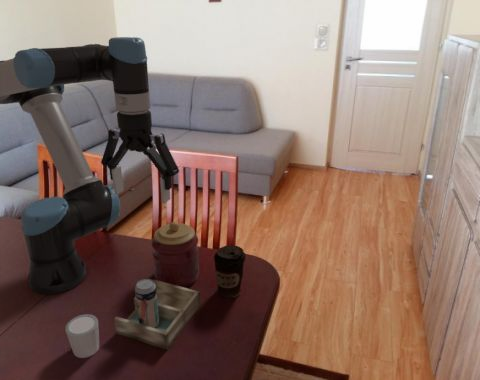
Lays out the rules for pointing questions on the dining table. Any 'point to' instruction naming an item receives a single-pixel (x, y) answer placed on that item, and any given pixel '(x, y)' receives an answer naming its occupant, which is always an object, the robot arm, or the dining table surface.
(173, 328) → the caddy
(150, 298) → the beer can
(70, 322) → the shot glass
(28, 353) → the dining table surface
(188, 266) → the canister
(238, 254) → the coffee cup
